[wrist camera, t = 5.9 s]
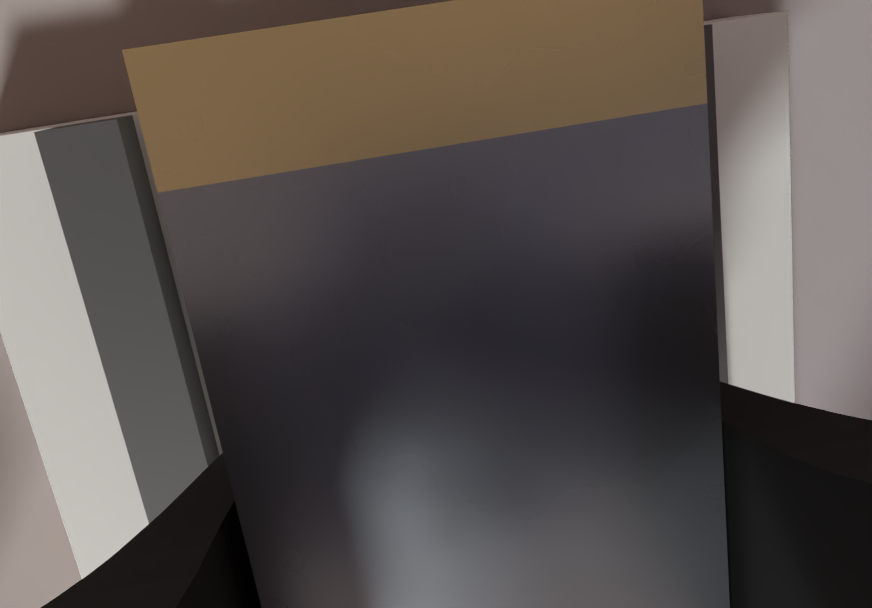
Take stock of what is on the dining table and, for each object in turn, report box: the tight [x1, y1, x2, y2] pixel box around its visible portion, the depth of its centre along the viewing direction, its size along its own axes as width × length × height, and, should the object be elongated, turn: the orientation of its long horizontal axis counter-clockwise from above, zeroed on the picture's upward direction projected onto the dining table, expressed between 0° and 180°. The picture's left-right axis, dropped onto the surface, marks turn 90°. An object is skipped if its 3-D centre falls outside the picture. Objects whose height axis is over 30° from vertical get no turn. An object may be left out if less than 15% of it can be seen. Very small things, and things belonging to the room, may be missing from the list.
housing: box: [122, 0, 730, 608], centre depth 12 cm, size 10×5×6 cm, turn 8°
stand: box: [0, 11, 795, 579], centre depth 15 cm, size 14×11×3 cm
